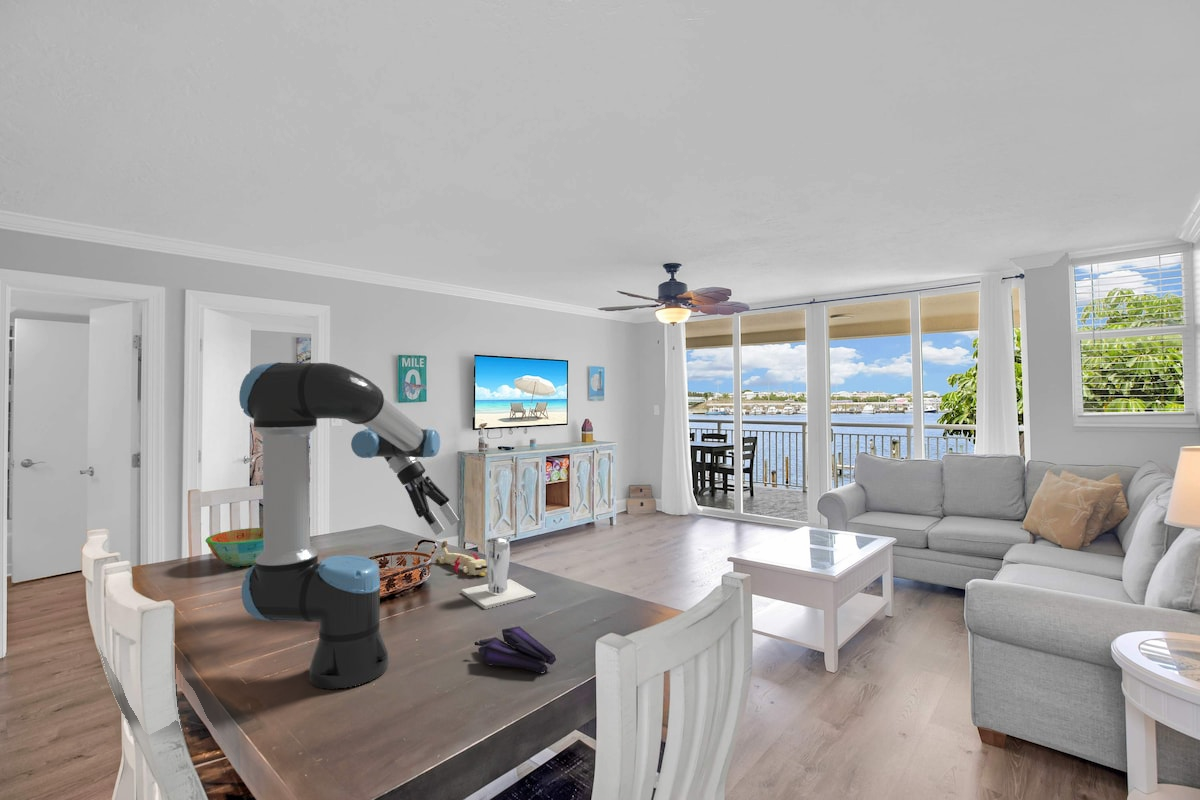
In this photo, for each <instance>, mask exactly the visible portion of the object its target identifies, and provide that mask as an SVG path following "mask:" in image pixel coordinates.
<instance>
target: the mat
mask: <svg viewBox="0 0 1200 800" xmlns="http://www.w3.org/2000/svg"><path fill="white" fill-rule="evenodd" d="M507 585H508V592H507V593H506V594H503V595H490V594H488V593H487V589H488V583H486V584H481V585H477V586H476V585H475V586H470V587H466V588H462V589H460V590H461V591H460V592H461V594H462V595H464V596H465V597H466V596H467V599H469V600H471V601H472V602H474V603H475V604H477V605H478V606H480V607H481V608H483V610H487V609H488V608H489V609H493V608H497V607H501V606H504V605H503V604H505V605H508V604H507V603H510V602H514V601H517V600H521V599H525V598H528V597H533V596H536V597H537V593H536V592H534V591H532V590H531V589H529V588H527V587H525V586H523V585H521V584H520V583H518V582H516V581H514V580H512V579H510V578H509V579H508V578H507ZM514 603H515V602H514ZM510 604H511V603H510ZM500 605H501V606H500ZM496 606H497V607H496ZM492 607H493V608H492Z"/></svg>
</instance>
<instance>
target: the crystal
mask: <svg viewBox="0 0 1200 800" xmlns="http://www.w3.org/2000/svg"><path fill="white" fill-rule="evenodd" d="M501 634H502V637H503V640H501V639H499V638H498V637H490V638H486V639H480V640H479V641H475V642H474V646H478V649H477V650H478V653H479V655H480V657H481V658H482V660H483V662H484V663H485V664H487V665H488V664H492V665H491V666H496V665H500V666H499V667H508V668H509V667H511V668H512V667H513V668H525V669H527V668H528V669H527V670H530V669H531V670H530V671H532V670H534V671H533V672H535V671H537V672H536V673H538V672H540V673H539V674H541V672H544V671H546V670H548V666H547V665H546V664H548V665H550V666H552V665H553V664H554V663H555V662H556V661H557V658H556V655H555V654H554V653H553V652H552V651H550V649H548V648H546V647H545V646H544V645H543V644H542V643H541V642H539V641H538V640H537V639H536V638H534V637H533V636H532V635H530V634H529V633H528V632H527V631H526V630H524V629H523V628H522V627H521V626H514V627H508V628H503V629H502V630H501ZM546 672H547V671H546Z"/></svg>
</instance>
